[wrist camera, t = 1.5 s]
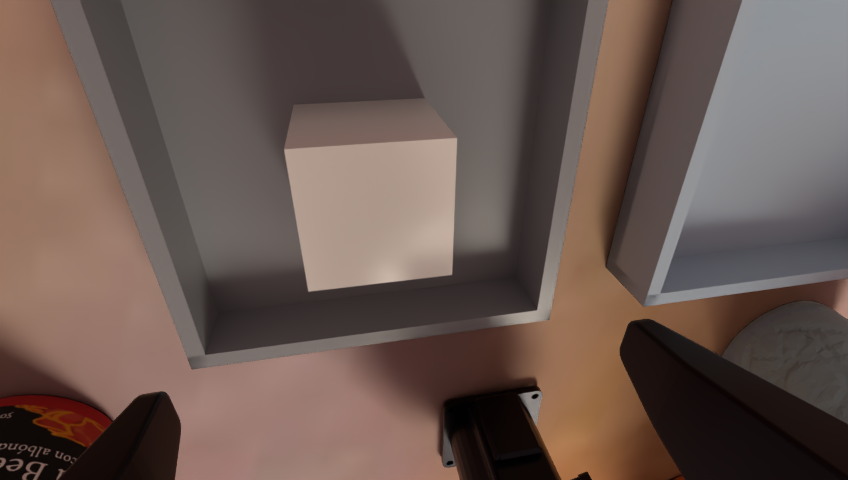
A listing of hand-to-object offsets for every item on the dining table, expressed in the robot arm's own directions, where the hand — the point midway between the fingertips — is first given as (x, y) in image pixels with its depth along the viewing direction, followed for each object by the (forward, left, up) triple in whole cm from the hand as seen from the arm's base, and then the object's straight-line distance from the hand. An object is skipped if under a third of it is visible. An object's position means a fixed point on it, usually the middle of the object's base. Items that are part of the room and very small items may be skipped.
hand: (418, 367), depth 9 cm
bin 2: (0, -21, -12) cm, 24 cm away
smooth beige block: (0, 0, -12) cm, 12 cm away
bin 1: (0, 0, -12) cm, 12 cm away
